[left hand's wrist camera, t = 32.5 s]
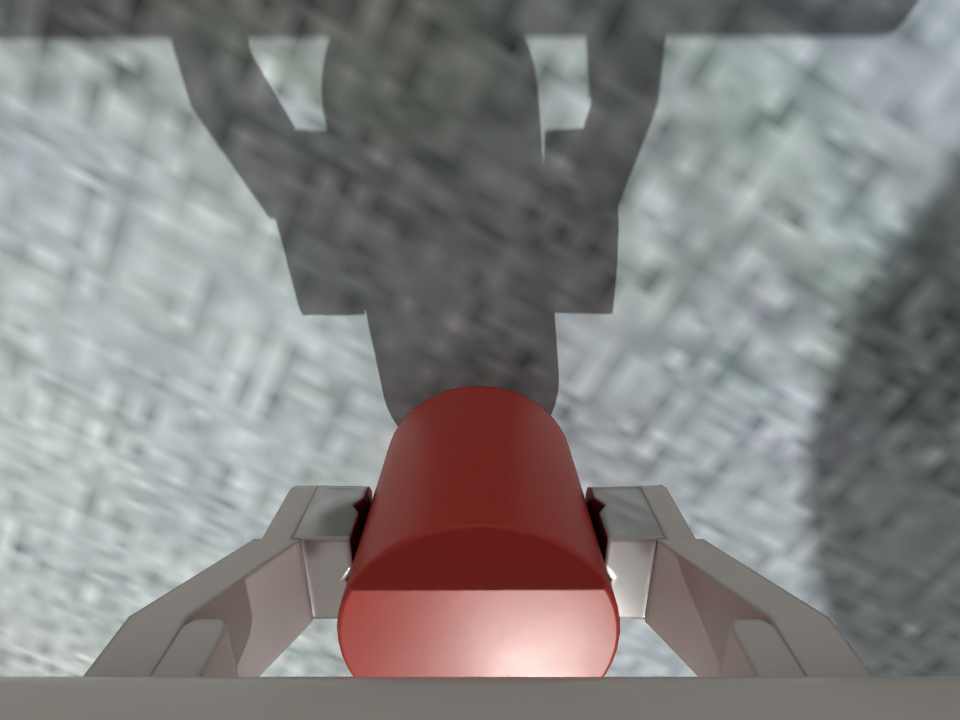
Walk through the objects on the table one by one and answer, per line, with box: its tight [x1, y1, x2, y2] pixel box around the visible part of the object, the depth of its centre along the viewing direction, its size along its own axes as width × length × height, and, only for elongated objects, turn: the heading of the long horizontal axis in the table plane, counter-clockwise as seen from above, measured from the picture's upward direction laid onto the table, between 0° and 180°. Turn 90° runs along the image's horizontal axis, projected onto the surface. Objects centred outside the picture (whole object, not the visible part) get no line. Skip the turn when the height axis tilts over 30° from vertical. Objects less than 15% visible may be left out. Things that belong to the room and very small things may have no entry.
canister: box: [337, 386, 620, 677], centre depth 10 cm, size 4×4×5 cm
